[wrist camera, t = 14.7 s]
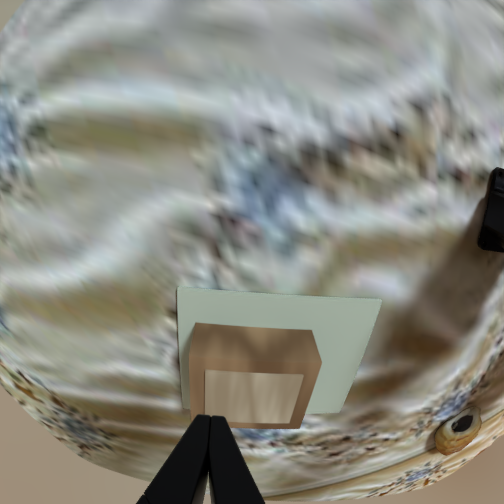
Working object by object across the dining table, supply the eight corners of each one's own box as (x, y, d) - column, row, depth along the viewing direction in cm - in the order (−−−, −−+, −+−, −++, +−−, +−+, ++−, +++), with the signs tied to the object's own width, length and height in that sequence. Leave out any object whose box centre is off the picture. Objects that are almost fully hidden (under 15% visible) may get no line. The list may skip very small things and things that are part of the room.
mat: (379, 298, 21) (382, 301, 21) (338, 409, 25) (339, 412, 25) (178, 286, 20) (177, 289, 20) (183, 405, 24) (182, 408, 24)
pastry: (468, 432, 31) (477, 450, 28) (429, 453, 32) (437, 472, 29) (477, 399, 28) (490, 419, 25) (433, 424, 29) (444, 446, 25)
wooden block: (322, 364, 18) (188, 357, 17) (299, 430, 20) (191, 426, 20) (311, 329, 21) (195, 322, 21) (293, 396, 24) (195, 391, 23)
